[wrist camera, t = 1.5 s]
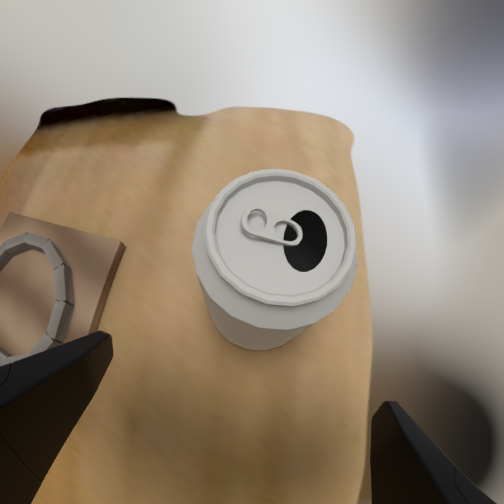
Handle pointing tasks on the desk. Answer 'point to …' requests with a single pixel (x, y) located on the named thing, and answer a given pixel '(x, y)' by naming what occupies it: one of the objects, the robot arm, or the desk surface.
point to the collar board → (51, 284)
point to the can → (273, 256)
